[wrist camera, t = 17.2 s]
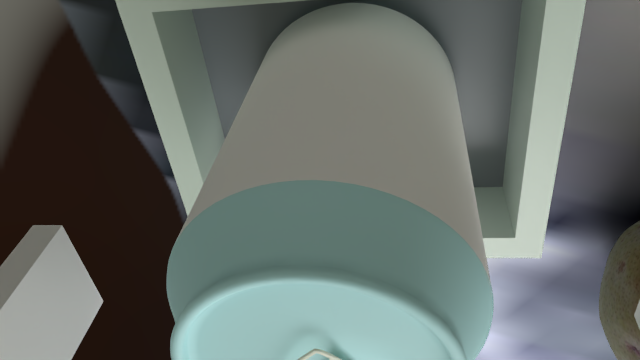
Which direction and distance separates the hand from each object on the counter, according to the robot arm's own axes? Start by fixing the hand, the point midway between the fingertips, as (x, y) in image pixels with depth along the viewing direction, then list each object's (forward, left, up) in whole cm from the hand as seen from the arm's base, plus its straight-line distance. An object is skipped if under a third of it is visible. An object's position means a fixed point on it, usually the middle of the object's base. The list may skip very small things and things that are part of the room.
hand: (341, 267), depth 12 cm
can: (0, 0, -9) cm, 9 cm away
